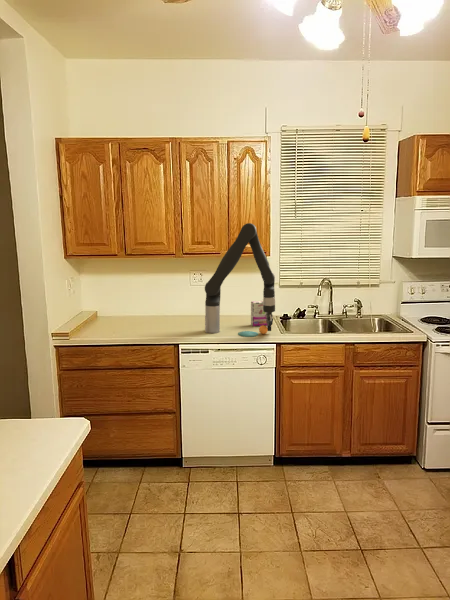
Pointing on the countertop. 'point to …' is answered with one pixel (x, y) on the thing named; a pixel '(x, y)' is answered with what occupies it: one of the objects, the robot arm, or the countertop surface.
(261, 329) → the ball
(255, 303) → the candy bar box
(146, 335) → the countertop surface
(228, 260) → the robot arm
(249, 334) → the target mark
